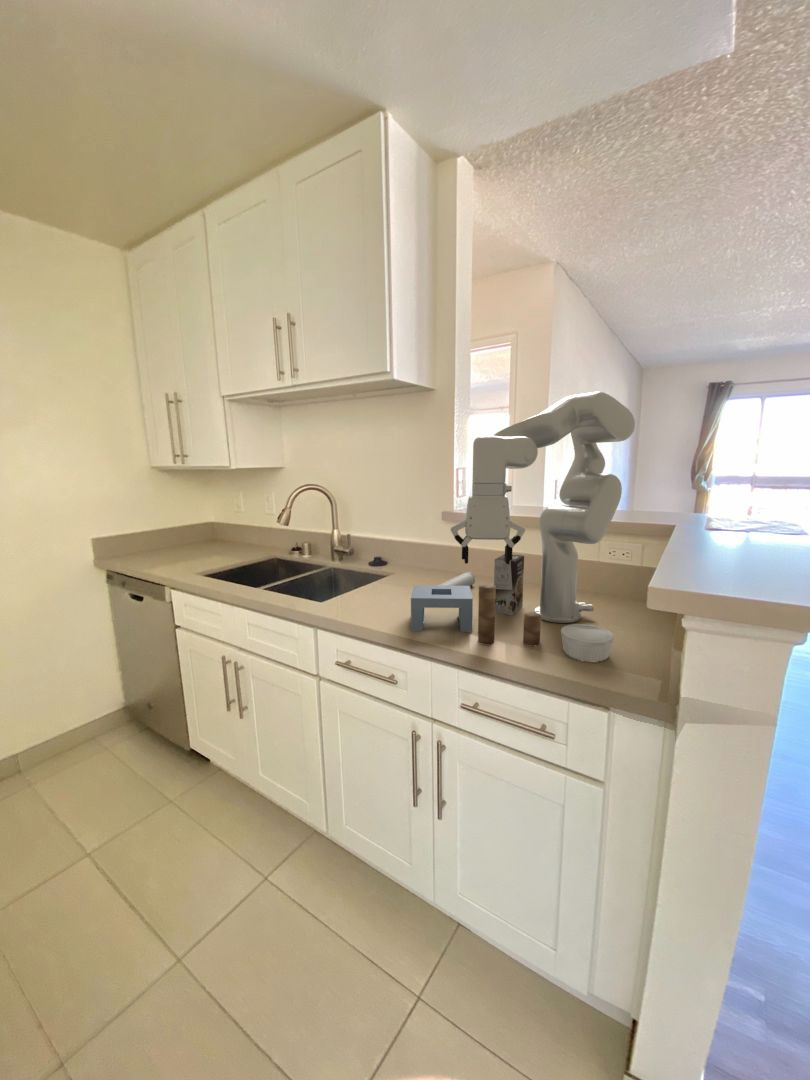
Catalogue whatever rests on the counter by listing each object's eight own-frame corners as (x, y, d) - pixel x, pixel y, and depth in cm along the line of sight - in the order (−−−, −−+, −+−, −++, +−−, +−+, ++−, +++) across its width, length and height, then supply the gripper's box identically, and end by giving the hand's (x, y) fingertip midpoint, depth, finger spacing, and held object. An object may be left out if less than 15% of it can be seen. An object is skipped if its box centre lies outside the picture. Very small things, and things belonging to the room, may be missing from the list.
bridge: (469, 615, 125) (469, 585, 124) (472, 631, 113) (472, 598, 112) (414, 615, 126) (413, 585, 125) (411, 630, 115) (410, 598, 113)
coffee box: (513, 615, 125) (515, 561, 122) (492, 612, 128) (493, 558, 125) (523, 606, 132) (525, 555, 129) (503, 603, 135) (504, 553, 133)
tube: (440, 593, 134) (477, 575, 154) (426, 586, 137) (464, 569, 156) (435, 608, 136) (472, 588, 156) (422, 600, 139) (460, 581, 158)
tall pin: (493, 638, 109) (494, 584, 107) (495, 644, 105) (496, 589, 103) (477, 638, 109) (478, 584, 107) (478, 644, 105) (479, 589, 103)
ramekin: (601, 644, 105) (602, 623, 104) (621, 665, 94) (622, 642, 93) (554, 643, 105) (555, 623, 104) (568, 665, 94) (569, 642, 93)
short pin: (538, 639, 108) (539, 612, 107) (541, 645, 104) (542, 618, 103) (521, 638, 108) (522, 612, 107) (524, 645, 104) (525, 617, 103)
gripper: (523, 490, 104) (520, 559, 106) (450, 489, 105) (449, 559, 108) (529, 491, 96) (526, 566, 99) (451, 491, 98) (450, 565, 100)
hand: (486, 562), depth 103 cm, fingers open, 9 cm apart
